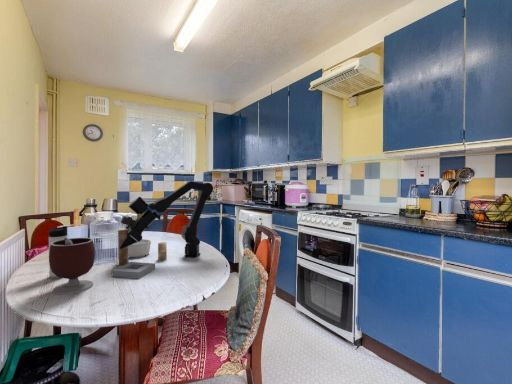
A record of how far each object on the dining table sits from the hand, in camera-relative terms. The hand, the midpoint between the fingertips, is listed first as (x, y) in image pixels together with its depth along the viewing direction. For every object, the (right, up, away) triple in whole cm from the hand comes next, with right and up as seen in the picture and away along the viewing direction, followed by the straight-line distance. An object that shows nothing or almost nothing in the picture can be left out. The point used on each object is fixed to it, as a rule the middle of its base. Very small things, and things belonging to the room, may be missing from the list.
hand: (119, 246), depth 128 cm
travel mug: (-17, -9, -15) cm, 24 cm away
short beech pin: (+16, -8, +10) cm, 21 cm away
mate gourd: (-3, -10, -28) cm, 30 cm away
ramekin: (0, -8, +18) cm, 20 cm away
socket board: (+11, -9, -10) cm, 18 cm away
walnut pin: (+1, -9, +1) cm, 9 cm away
